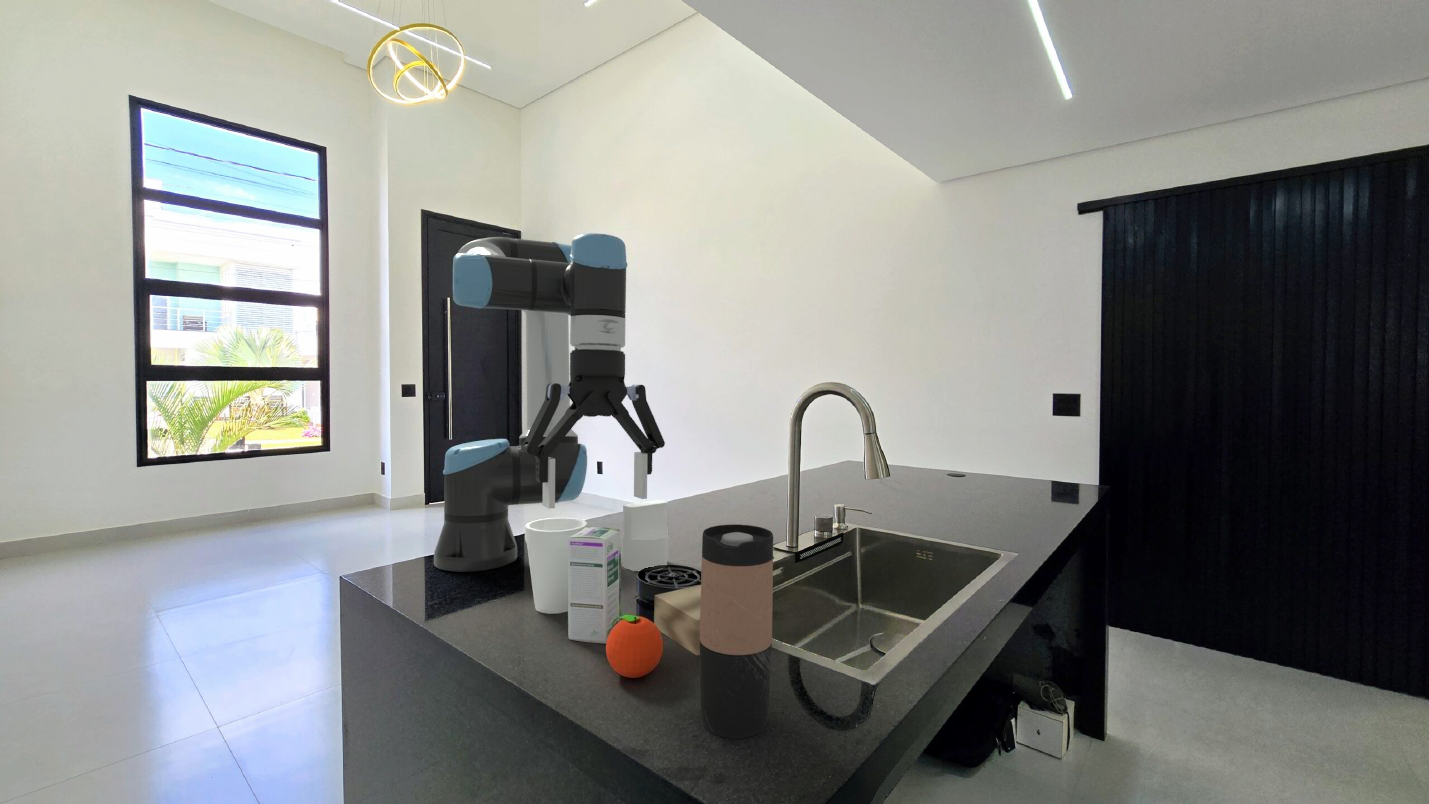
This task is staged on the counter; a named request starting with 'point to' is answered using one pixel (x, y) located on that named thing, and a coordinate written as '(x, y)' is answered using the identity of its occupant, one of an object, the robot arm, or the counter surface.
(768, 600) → the travel mug
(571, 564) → the syrup box
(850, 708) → the counter surface
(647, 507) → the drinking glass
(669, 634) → the oak block
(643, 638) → the clementine
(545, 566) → the foam cup
